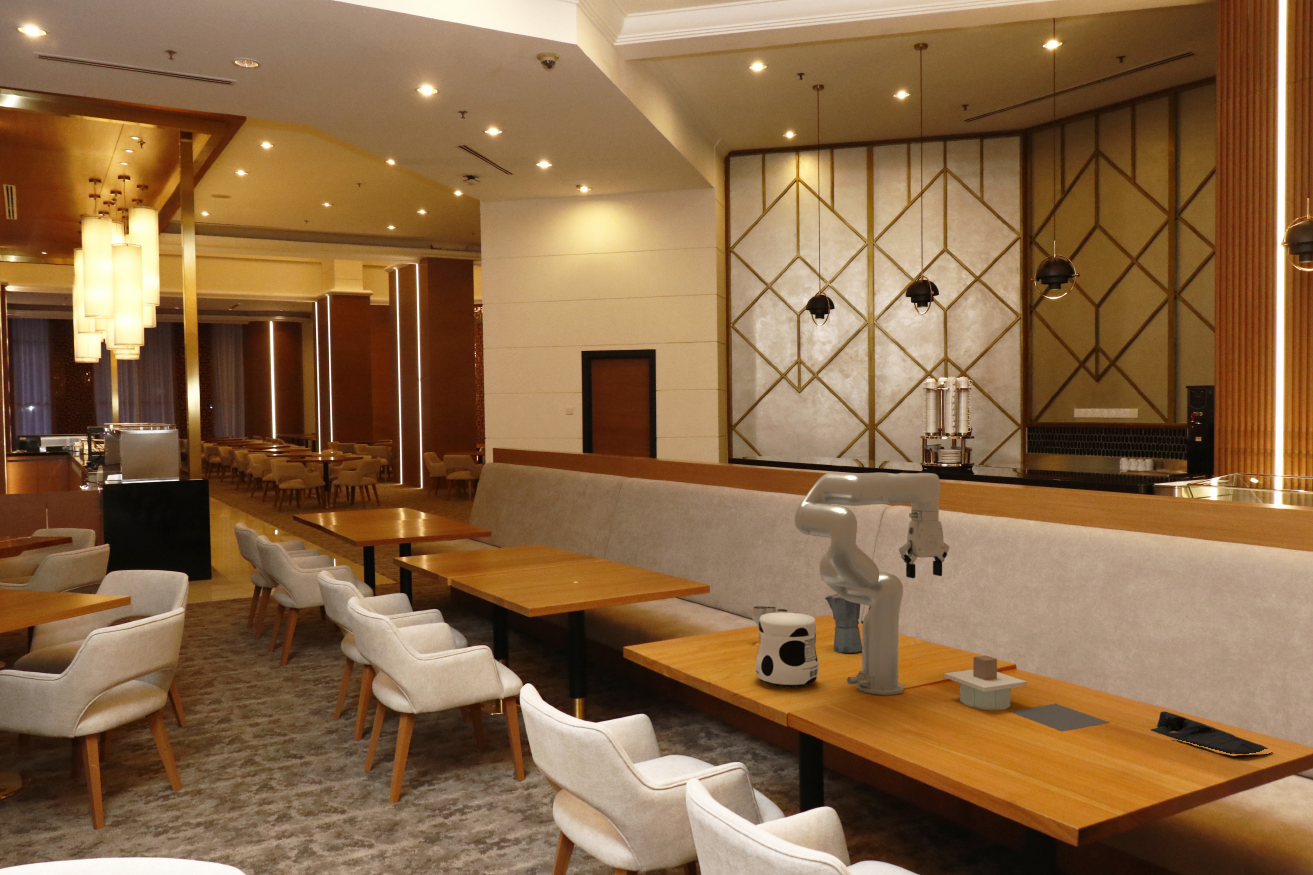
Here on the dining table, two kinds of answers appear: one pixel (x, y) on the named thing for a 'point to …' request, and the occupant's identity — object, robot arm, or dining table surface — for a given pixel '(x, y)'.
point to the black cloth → (1203, 735)
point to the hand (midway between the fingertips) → (924, 576)
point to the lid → (985, 676)
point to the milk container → (787, 650)
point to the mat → (1059, 717)
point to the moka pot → (845, 624)
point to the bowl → (985, 698)
